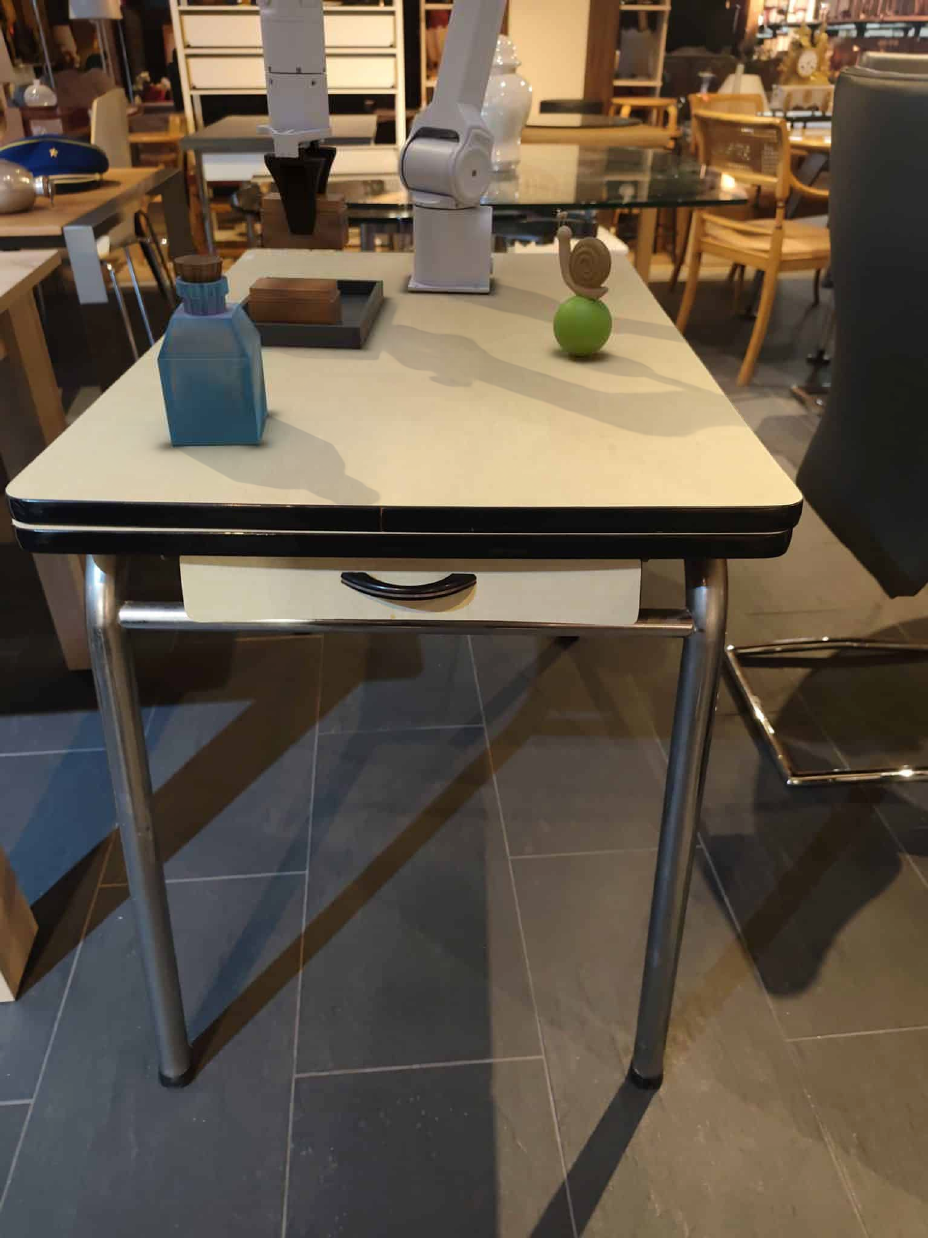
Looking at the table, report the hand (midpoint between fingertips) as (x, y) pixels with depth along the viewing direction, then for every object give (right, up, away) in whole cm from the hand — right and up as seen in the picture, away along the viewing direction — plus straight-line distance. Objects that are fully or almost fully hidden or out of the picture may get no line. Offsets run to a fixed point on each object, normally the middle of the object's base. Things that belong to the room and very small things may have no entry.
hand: (307, 229), depth 90 cm
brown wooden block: (0, -12, -4) cm, 12 cm away
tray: (0, -8, +2) cm, 9 cm away
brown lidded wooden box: (0, -1, +1) cm, 1 cm away
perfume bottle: (-2, -26, -24) cm, 35 cm away
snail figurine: (+27, -15, -6) cm, 31 cm away
